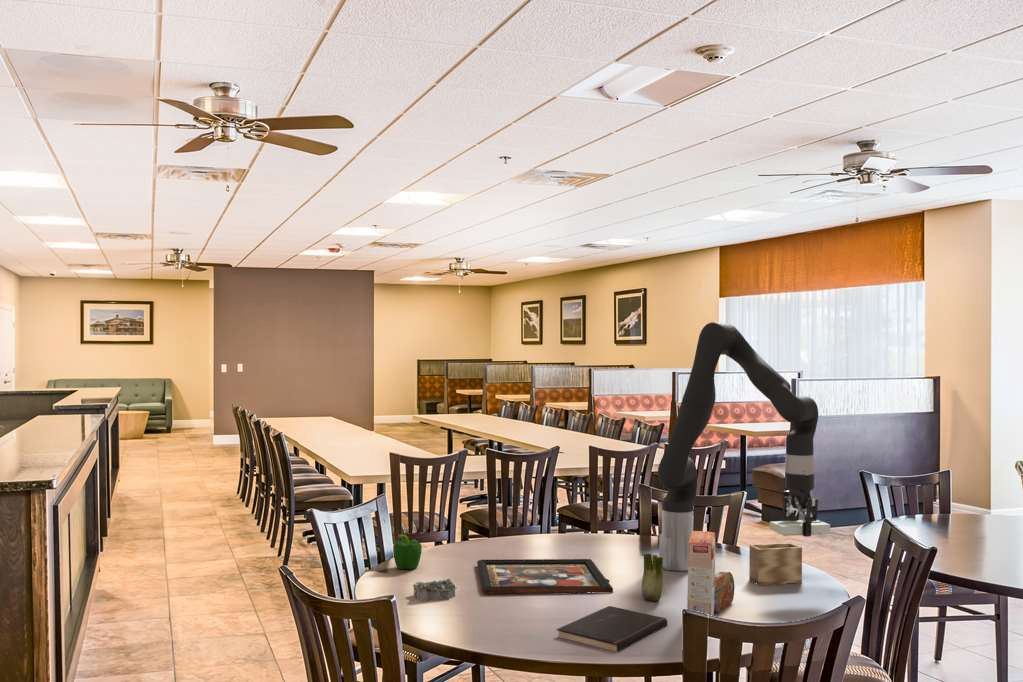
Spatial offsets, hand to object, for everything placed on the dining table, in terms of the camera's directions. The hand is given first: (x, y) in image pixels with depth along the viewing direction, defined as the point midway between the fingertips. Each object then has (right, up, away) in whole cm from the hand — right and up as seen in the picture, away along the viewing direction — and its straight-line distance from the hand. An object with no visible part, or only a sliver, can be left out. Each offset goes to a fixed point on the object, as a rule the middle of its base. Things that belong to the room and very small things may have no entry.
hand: (799, 533), depth 236 cm
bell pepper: (-108, -16, +25) cm, 112 cm away
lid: (0, +1, 0) cm, 1 cm away
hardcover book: (-54, -17, -32) cm, 65 cm away
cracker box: (-32, -16, -26) cm, 45 cm away
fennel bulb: (-41, -16, -7) cm, 44 cm away
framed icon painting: (-69, -17, +14) cm, 72 cm away
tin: (-24, -16, -13) cm, 32 cm away
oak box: (-3, -16, +12) cm, 20 cm away
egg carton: (-98, -16, -4) cm, 99 cm away
